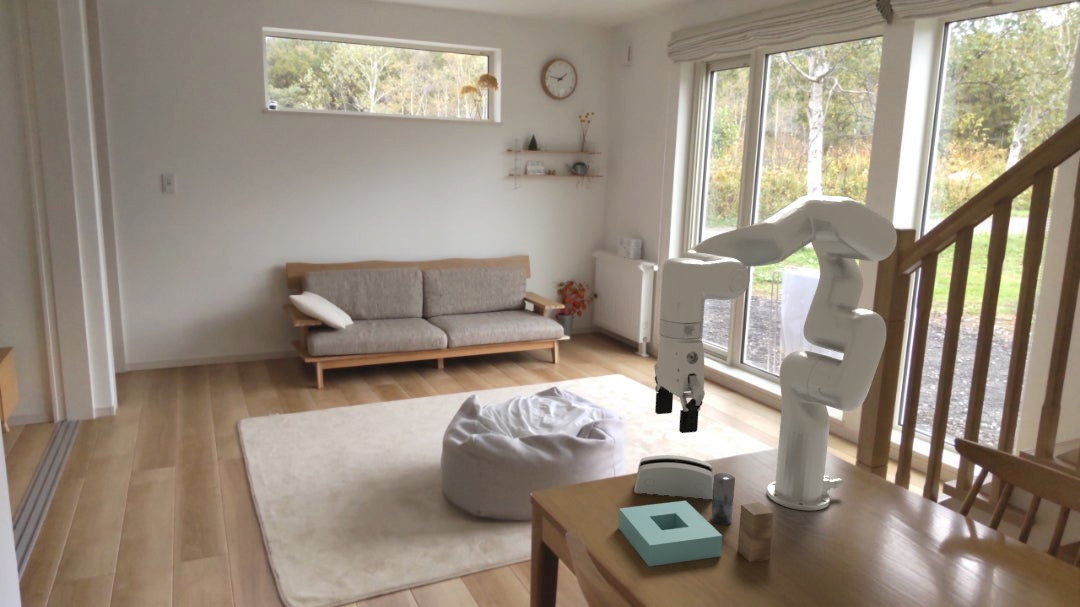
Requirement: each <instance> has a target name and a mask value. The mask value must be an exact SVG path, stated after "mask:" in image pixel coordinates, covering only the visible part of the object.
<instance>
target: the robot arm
mask: <svg viewBox="0 0 1080 607" xmlns="http://www.w3.org/2000/svg"><path fill="white" fill-rule="evenodd" d="M897 241H898V235H897V231H896V228H895V226H894V224H893V223H892V221H891V220H890V219H889V218H887V217H886V216H883V215H882V214H881V213H879V212H877V211H875V210H874V209H872V208H870V207H868V206H866V205H865V204H863V203H862V202H859V201H857V200H855V199H852V198H849V197H845V196H831V195H818V194H817V195H816V194H815V195H813V194H812V195H809V194H808V195H804V196H801V197H798V198H795V200H792V201H790V203H787V204H786V205H784V206H783V207H780V209H778V210H775V212H773V213H772V214H770V215H768V216H766V217H765V218H763V219H761V220H760V221H758V222H757V223H754V224H750V225H746V226H742V227H739V228H735V229H732V230H729V231H726V232H723V233H719V234H716V235H713V236H711V237H708V238H706V239H704V240H702V241H701V242H699V243H697V244H696V245H694V246H692V247H690V248H689V249H687V250H686V251H685V252H683V253H682V254H681V256H680V257H674V258H669V259H666V260H665V261H664V263H663V265H662V270H661V271H662V272H661V285H660V286H661V289H660V304H659V305H660V306H659V307H660V308H659V309H660V310H659V324H658V337H659V344H658V350H657V356H656V357H657V359H656V363H655V364H654V365H653V368H654V375H655V377H654V381H655V383H656V385H655V387H654V388H655V392H656V394H655V406H654V410H655V411H654V412H655V414H657V415H666V414H668V415H669V414H672V413H673V402H674V396H675V397H677V398H679V401H680V403H681V407H682V409H680V410H679V411H680V412H679V427H678V428H679V429H678V431H679V432H680V433H681V434H687V433H696V432H697V431H698V424H699V412H700V411H701V406H702V405H703V400H704V398H705V394H706V393H705V389H704V388H705V354H704V345H703V336H704V335H703V332H704V317H705V316H704V315H705V301H706V300H718V301H731V300H735V299H737V298H739V297H741V296H742V295H744V293H745V292H746V291H747V290H748V288H749V285H750V281H751V275H750V272H749V271H750V270H748V268H749V267H752V268H753V267H764V266H769V265H771V266H772V265H776V264H779V263H781V262H783V261H785V260H786V259H787V258H789V257H791V256H793V255H794V254H795V253H797V252H798V251H800V250H801V249H803V248H804V247H806V246H807V245H809V244H811V246H812V248H813V250H814V252H815V255H816V257H817V261H818V265H819V279H818V283H817V287H816V289H815V292H814V295H813V298H812V300H811V304H810V306H809V309H808V312H807V315H806V318H805V321H804V325H803V330H802V331H803V332H802V333H803V337H804V339H805V340H806V342H808V343H810V344H811V345H812V346H815V347H818V348H822V349H825V350H829V351H832V352H836V353H840V354H843V355H842V359H839V358H835V357H832V356H829V355H825V354H821V353H817V352H814V351H811V350H810V351H809V350H797V351H793V352H790V353H789V354H787V355H786V356H785V357H784V359H782V361H781V364H780V367H779V373H778V374H779V376H778V377H779V385H780V386H779V387H780V394H781V412H780V424H779V433H778V434H779V437H778V447H777V458H776V469H775V470H776V472H775V480H774V481H772V482H770V483H769V484H768V485H767V487H766V494H767V496H768V497H769V499H770V500H772V501H773V502H775V503H776V504H778V505H780V506H783V507H786V508H789V509H792V510H798V511H799V510H800V511H809V512H810V511H811V512H812V511H820V510H823V509H826V508H827V507H828V506H829V505H830V503H831V497H830V494H829V493H828V491H830V490H831V489H840V488H842V487H843V486H844V483H843V480H842V479H841V478H832V479H830V477H829V475H825V474H826V463H827V454H828V445H829V444H828V443H829V432H830V425H831V424H830V415H829V411H828V408H827V407H829V408H833V409H836V410H840V411H842V412H852V411H855V410H857V409H858V408H860V407H861V406H862V405H863V403H864V402H865V400H866V398H867V396H868V393H869V391H870V389H871V386H872V383H873V380H874V377H875V374H876V372H877V369H878V366H879V364H880V361H881V357H882V354H883V351H884V348H885V345H886V341H887V326H886V325H887V324H886V322H885V320H884V318H883V317H882V316H881V315H880V314H879V313H877V312H875V311H872V310H870V309H865V308H861V307H858V306H859V302H860V300H861V299H860V298H861V295H862V292H863V289H864V278H863V273H862V271H861V268H860V266H859V265H858V263H857V261H867V262H880V261H884V260H885V259H887V258H889V257H890V256H891V255H892V254H893V252H894V251H895V249H896V246H897ZM856 260H857V261H856ZM687 399H690V400H689V401H688V400H687Z"/></svg>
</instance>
